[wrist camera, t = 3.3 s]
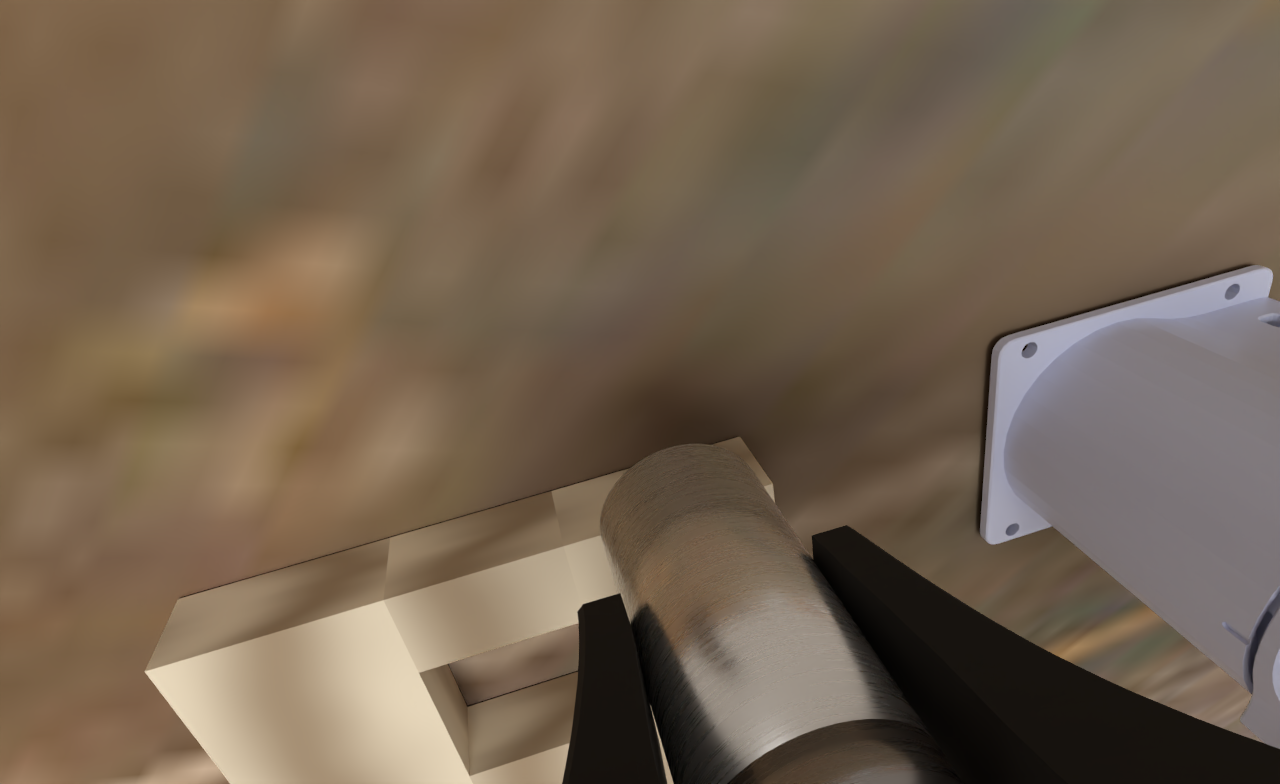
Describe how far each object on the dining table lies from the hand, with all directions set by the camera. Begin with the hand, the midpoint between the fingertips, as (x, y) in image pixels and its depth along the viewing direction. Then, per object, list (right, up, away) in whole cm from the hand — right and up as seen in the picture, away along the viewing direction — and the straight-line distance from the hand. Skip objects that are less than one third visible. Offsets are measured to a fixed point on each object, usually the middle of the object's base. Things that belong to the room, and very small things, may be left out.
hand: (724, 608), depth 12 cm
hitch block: (-5, -6, +12) cm, 14 cm away
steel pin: (-1, +1, +2) cm, 3 cm away
